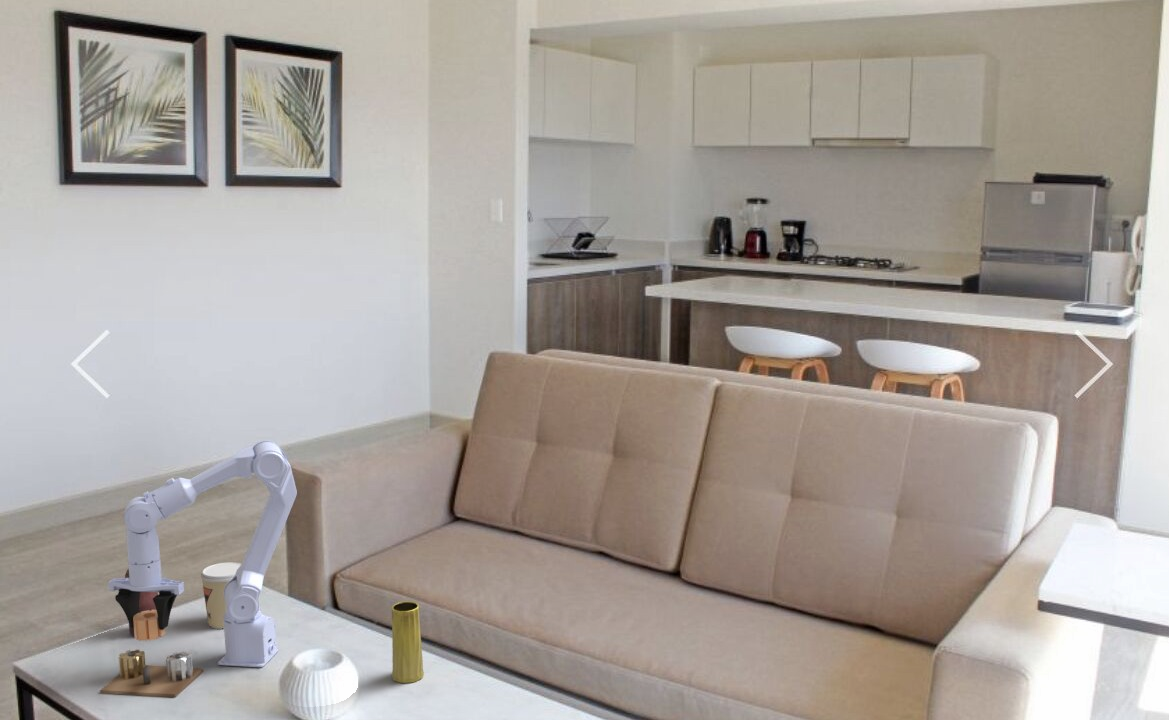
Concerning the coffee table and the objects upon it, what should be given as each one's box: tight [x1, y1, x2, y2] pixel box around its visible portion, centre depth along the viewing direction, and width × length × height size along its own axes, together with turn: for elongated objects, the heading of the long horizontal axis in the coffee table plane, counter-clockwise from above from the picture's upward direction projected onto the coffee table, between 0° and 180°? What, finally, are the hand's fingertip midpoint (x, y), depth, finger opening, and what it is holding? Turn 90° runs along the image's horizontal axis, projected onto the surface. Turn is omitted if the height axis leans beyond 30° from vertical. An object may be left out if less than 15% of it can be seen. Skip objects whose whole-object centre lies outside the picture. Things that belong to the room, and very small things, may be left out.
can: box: [124, 568, 159, 636], centre depth 229 cm, size 6×6×14 cm
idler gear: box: [133, 610, 167, 642], centre depth 209 cm, size 5×5×4 cm
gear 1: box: [118, 649, 147, 679], centre depth 208 cm, size 5×5×4 cm
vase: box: [391, 600, 425, 684], centre depth 207 cm, size 6×6×14 cm
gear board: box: [99, 664, 205, 698], centre depth 206 cm, size 15×11×4 cm
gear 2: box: [165, 650, 194, 682], centre depth 207 cm, size 5×5×4 cm
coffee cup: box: [200, 561, 242, 630], centre depth 234 cm, size 9×9×12 cm
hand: (149, 626), depth 209 cm, fingers closed on idler gear, 5 cm apart
